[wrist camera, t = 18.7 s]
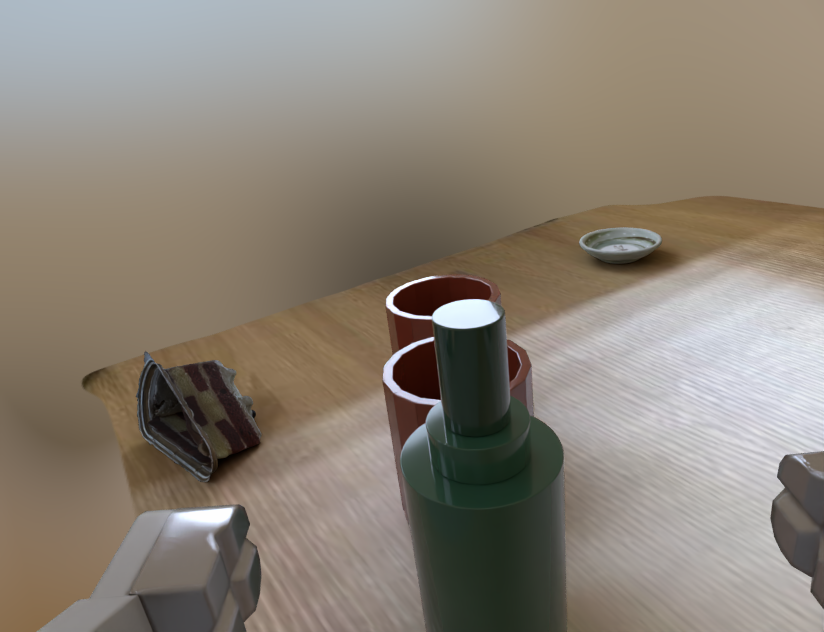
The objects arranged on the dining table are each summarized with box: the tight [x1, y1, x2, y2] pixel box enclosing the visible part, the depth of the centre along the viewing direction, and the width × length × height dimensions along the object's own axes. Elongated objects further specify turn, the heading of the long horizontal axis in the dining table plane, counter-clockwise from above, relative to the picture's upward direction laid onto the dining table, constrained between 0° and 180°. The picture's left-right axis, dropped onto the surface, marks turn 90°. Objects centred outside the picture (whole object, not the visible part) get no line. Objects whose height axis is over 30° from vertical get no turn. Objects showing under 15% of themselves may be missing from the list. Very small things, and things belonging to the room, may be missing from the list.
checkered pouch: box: [136, 352, 261, 482], centre depth 49 cm, size 10×7×12 cm
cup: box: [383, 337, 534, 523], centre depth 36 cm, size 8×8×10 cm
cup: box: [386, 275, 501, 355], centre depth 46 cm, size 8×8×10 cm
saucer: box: [579, 228, 662, 264], centre depth 74 cm, size 10×10×2 cm
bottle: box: [400, 299, 567, 632], centre depth 25 cm, size 6×6×18 cm
